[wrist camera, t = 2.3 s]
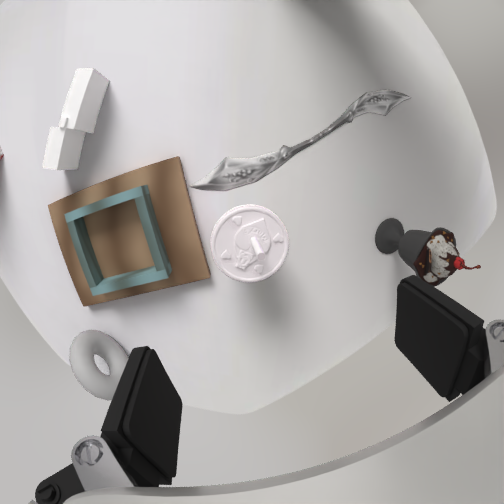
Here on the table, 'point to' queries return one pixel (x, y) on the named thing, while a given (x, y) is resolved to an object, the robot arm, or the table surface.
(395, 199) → the table surface
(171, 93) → the table surface
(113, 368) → the donut
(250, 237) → the smoothie
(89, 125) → the white stepped block
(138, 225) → the holder board
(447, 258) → the sundae
